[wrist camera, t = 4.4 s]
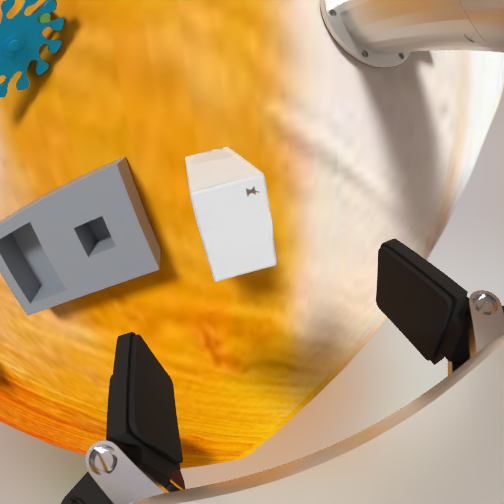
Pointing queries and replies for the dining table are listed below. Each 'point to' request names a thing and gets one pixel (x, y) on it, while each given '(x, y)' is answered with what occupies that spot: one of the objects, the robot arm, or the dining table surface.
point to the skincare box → (231, 212)
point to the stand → (78, 240)
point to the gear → (25, 40)
